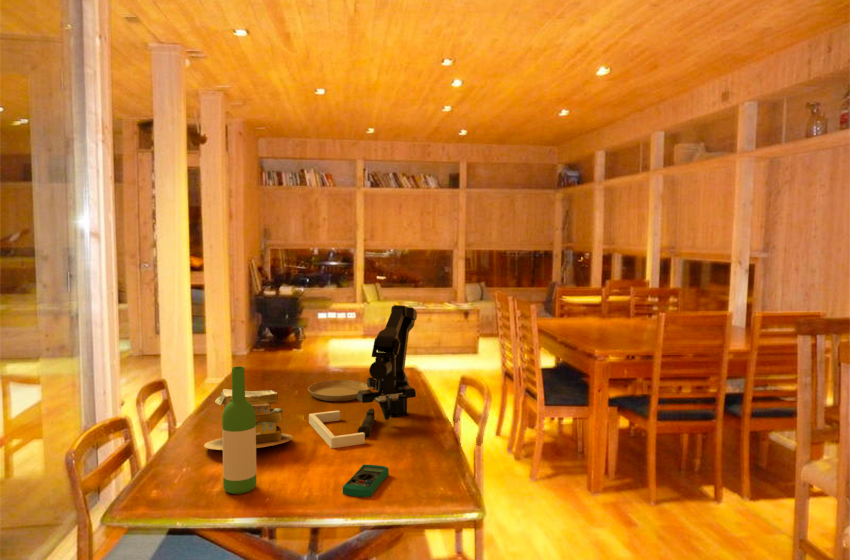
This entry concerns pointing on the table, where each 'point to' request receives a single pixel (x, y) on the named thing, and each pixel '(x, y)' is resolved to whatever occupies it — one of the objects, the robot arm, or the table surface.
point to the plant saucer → (337, 390)
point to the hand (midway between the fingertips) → (386, 419)
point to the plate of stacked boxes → (258, 418)
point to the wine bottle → (239, 439)
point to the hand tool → (367, 423)
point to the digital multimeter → (366, 481)
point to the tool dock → (328, 437)
